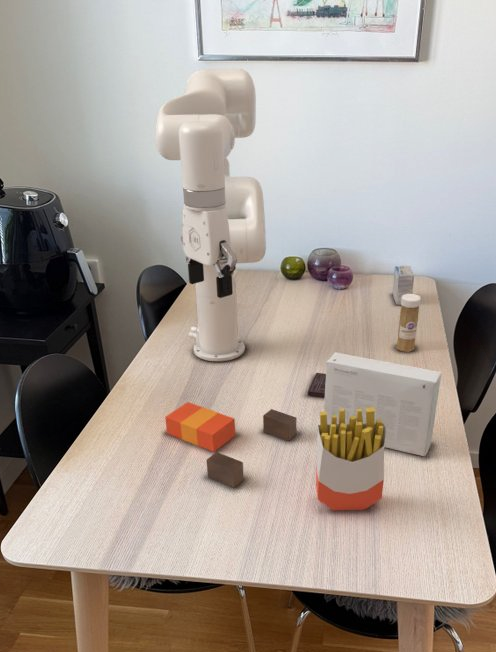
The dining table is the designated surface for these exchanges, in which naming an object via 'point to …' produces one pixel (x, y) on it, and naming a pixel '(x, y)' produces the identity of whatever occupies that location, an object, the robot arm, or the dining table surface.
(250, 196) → the robot arm
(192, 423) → the orange packet
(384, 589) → the dining table surface
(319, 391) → the chocolate bar
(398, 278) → the medicine box
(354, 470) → the french fries container
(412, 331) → the sprinkles bottle
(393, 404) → the skincare box
